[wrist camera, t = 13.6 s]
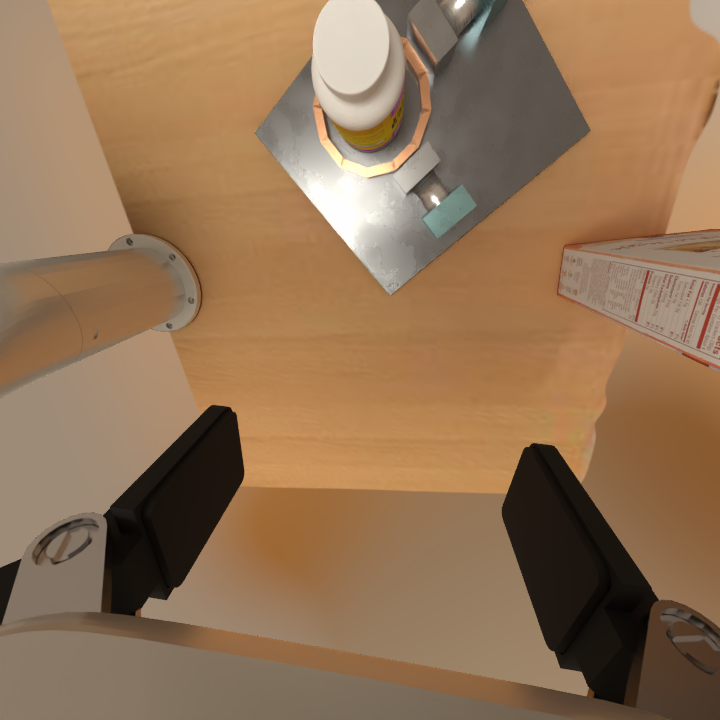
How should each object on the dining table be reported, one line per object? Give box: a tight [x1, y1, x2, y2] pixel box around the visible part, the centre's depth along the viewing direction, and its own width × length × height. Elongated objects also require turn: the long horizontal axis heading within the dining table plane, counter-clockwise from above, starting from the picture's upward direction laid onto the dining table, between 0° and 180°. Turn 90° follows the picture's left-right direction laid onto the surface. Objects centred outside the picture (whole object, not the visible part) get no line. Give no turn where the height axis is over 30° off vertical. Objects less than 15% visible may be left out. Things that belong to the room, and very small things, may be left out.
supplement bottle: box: [311, 0, 405, 152], centre depth 24 cm, size 7×7×13 cm
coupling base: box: [255, 0, 590, 295], centre depth 29 cm, size 24×22×5 cm
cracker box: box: [557, 229, 720, 372], centre depth 24 cm, size 14×6×21 cm, turn 97°
